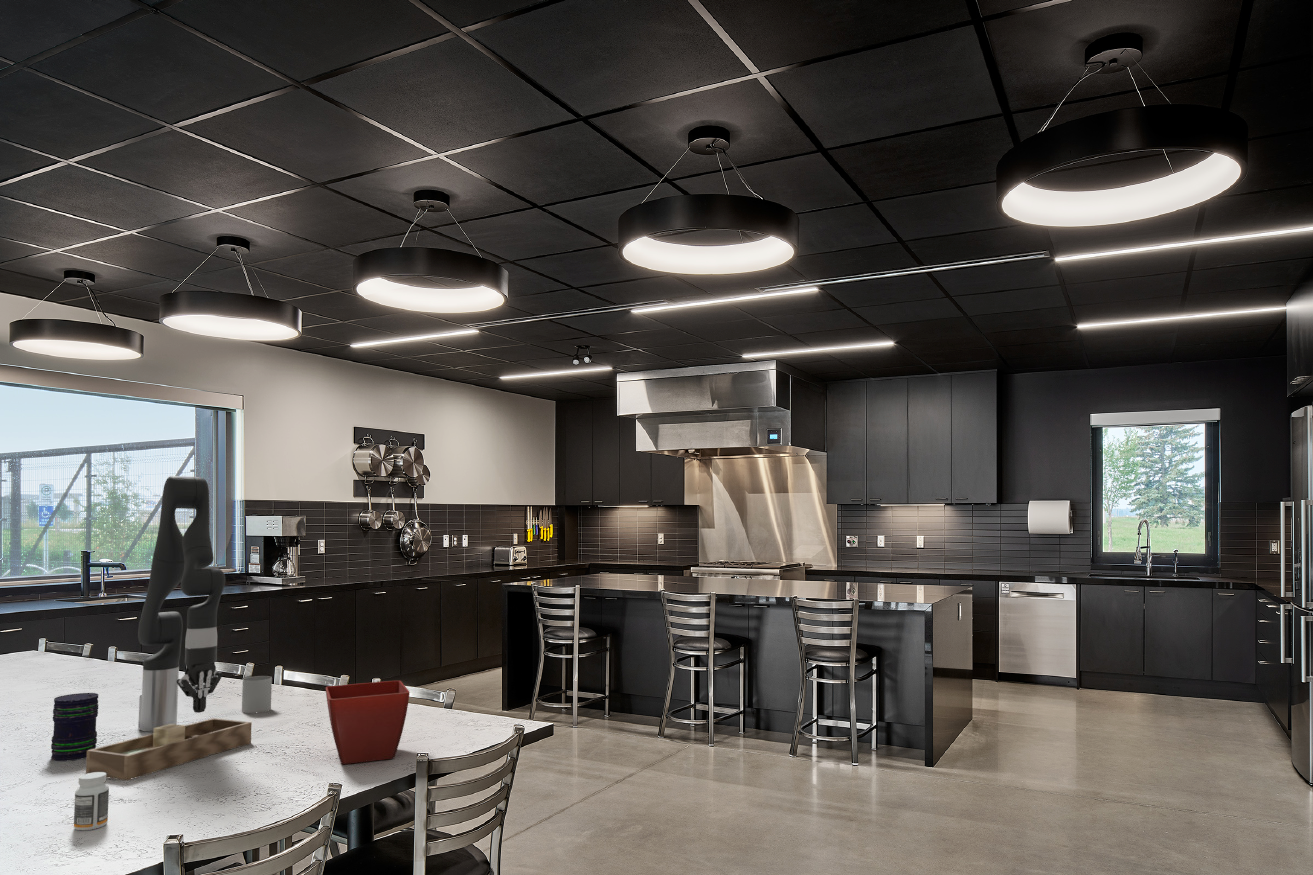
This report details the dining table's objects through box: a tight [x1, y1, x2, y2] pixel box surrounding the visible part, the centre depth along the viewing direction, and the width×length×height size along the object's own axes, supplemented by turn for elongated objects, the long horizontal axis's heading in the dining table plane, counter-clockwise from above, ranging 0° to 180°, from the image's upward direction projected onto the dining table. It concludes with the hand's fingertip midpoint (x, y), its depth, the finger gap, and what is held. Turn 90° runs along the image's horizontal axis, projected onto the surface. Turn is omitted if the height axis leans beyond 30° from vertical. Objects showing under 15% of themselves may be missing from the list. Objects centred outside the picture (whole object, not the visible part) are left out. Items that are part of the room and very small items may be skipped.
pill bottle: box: [73, 772, 110, 831], centre depth 175 cm, size 6×6×10 cm
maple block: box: [152, 724, 185, 748], centre depth 224 cm, size 5×5×5 cm
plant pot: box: [325, 680, 410, 765], centre depth 226 cm, size 19×19×17 cm
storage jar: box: [50, 692, 99, 762], centre depth 228 cm, size 10×10×15 cm
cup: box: [241, 675, 273, 714], centre depth 279 cm, size 8×8×10 cm
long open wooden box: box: [85, 717, 252, 781], centre depth 225 cm, size 36×14×6 cm, turn 158°
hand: (199, 711), depth 232 cm, fingers closed
